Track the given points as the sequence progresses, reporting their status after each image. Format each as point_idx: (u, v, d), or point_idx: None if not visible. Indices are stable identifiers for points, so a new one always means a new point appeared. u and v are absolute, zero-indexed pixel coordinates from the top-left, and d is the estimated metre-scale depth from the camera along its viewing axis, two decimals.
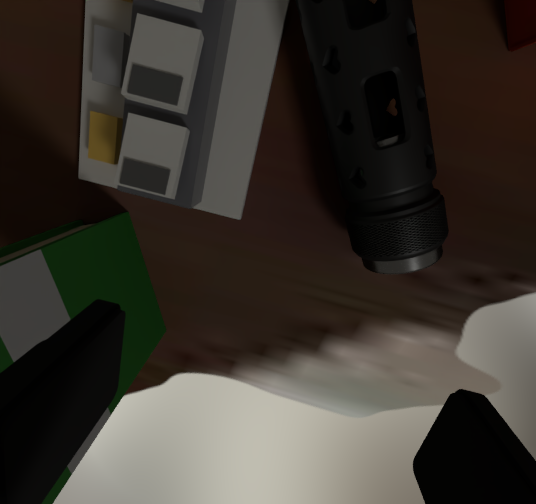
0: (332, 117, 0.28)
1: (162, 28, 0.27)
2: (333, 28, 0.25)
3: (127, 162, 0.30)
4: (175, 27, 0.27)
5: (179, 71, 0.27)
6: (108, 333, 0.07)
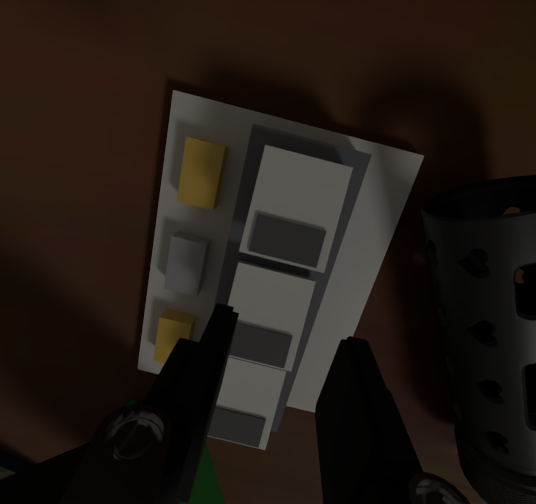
0: (468, 373, 0.23)
1: (268, 279, 0.22)
2: (493, 308, 0.20)
3: (215, 412, 0.25)
4: (284, 278, 0.22)
5: (287, 328, 0.22)
6: (233, 332, 0.09)
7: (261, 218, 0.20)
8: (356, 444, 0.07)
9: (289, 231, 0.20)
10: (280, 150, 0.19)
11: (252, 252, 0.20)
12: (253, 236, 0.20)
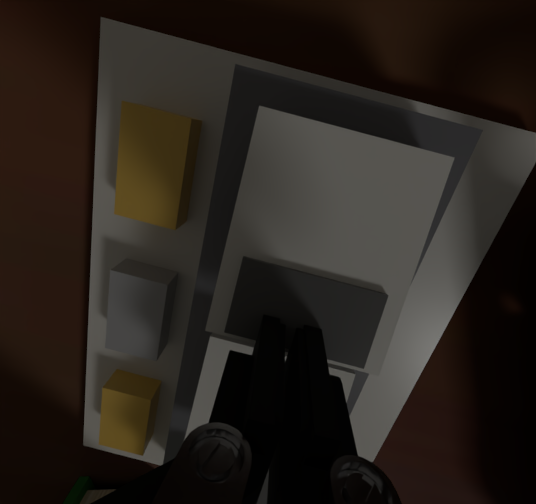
0: None
1: None
2: None
3: None
4: None
5: None
6: None
7: (251, 266, 0.09)
8: (292, 428, 0.07)
9: (308, 294, 0.09)
10: (292, 118, 0.09)
11: (232, 332, 0.10)
12: (234, 302, 0.09)
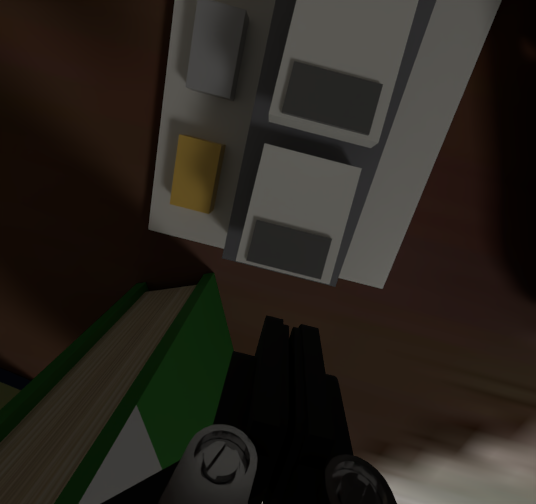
0: None
1: None
2: None
3: (261, 226, 0.18)
4: None
5: (375, 73, 0.15)
6: None
7: None
8: (288, 428, 0.07)
9: None
10: None
11: None
12: None
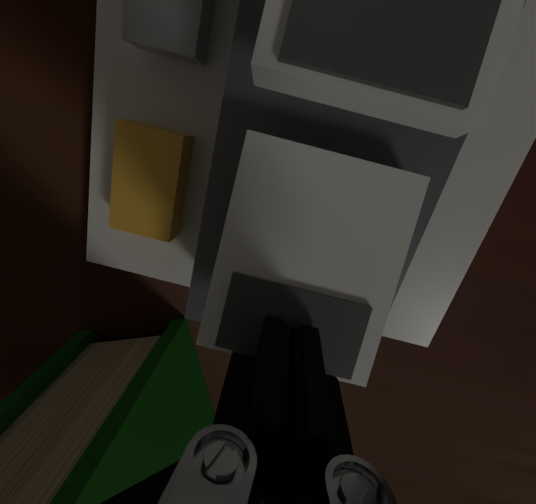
0: None
1: None
2: None
3: (241, 285, 0.10)
4: None
5: None
6: None
7: None
8: (288, 428, 0.07)
9: None
10: None
11: None
12: None
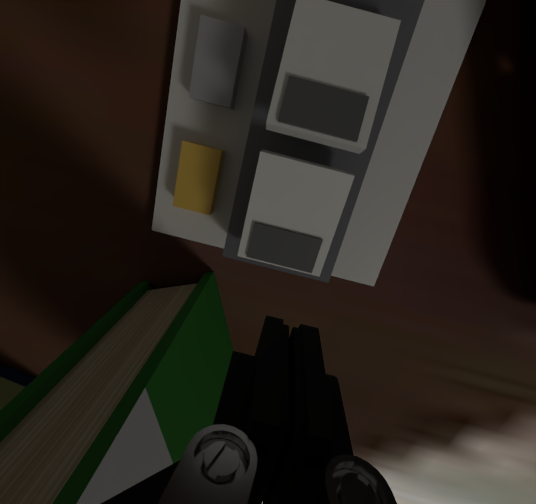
0: None
1: (338, 17, 0.17)
2: None
3: (258, 229, 0.20)
4: (359, 16, 0.17)
5: (362, 87, 0.17)
6: None
7: None
8: (288, 428, 0.07)
9: None
10: None
11: None
12: None
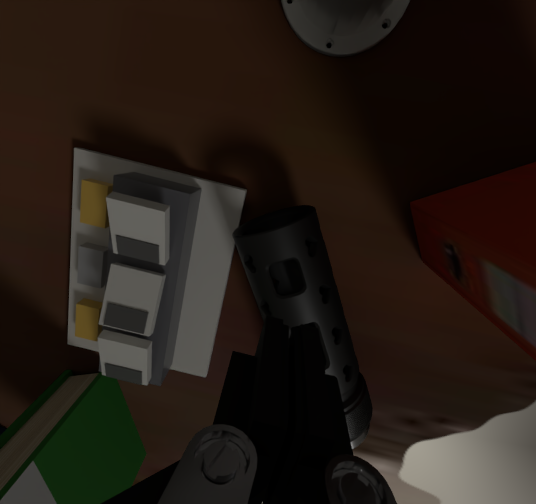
0: None
1: (131, 275, 0.34)
2: (264, 292, 0.31)
3: (107, 366, 0.37)
4: (141, 274, 0.34)
5: (145, 307, 0.34)
6: None
7: (118, 238, 0.32)
8: (288, 428, 0.07)
9: (136, 245, 0.32)
10: (116, 200, 0.29)
11: (121, 253, 0.33)
12: (118, 246, 0.33)
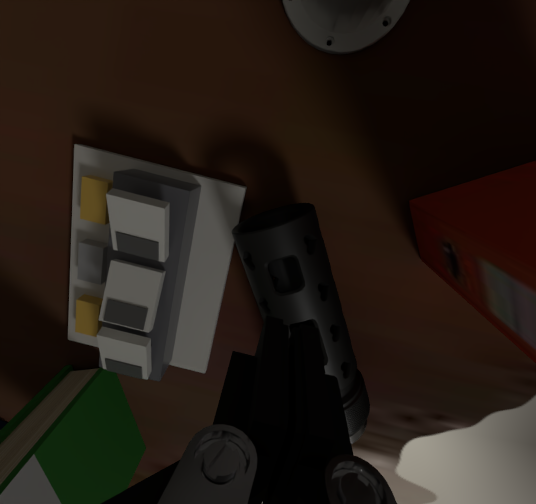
0: None
1: (131, 271, 0.34)
2: (262, 289, 0.31)
3: (107, 361, 0.37)
4: (141, 270, 0.34)
5: (145, 303, 0.34)
6: None
7: (118, 234, 0.32)
8: (288, 428, 0.07)
9: (136, 242, 0.32)
10: (116, 197, 0.29)
11: (120, 250, 0.33)
12: (117, 243, 0.33)
